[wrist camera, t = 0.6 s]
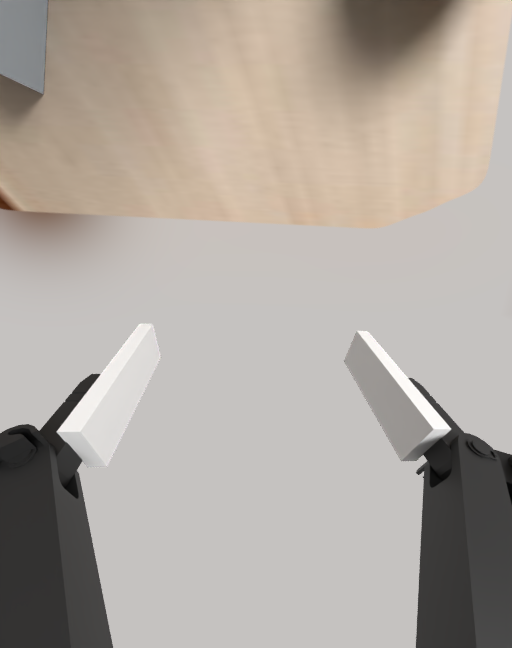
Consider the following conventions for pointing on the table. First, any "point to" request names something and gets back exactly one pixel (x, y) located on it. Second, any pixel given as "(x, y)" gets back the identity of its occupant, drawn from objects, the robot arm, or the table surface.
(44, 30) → the socket
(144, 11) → the table surface
